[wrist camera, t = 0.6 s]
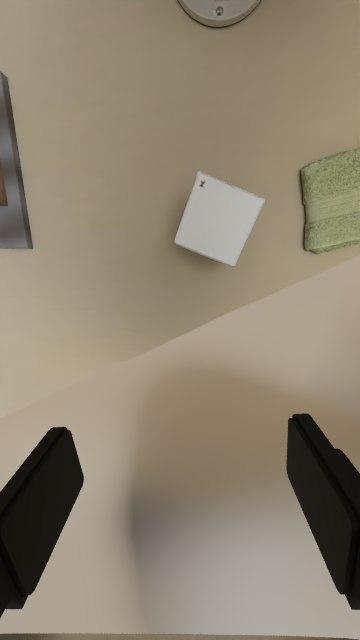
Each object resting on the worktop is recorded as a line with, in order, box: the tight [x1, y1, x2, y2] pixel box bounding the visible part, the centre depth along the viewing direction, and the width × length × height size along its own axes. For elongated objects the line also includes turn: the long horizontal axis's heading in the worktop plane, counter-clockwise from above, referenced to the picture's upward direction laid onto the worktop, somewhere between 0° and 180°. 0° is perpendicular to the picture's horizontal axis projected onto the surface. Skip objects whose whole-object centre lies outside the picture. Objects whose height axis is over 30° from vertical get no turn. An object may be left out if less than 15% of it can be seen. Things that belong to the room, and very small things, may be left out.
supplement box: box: [174, 171, 265, 267], centre depth 30 cm, size 7×7×13 cm
